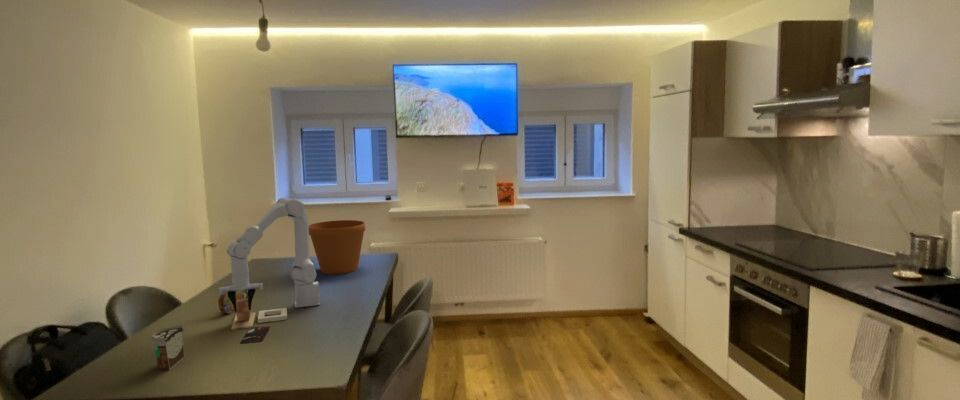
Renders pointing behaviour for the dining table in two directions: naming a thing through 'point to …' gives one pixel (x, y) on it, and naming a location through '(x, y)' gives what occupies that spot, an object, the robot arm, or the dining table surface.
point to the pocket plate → (272, 312)
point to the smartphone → (255, 335)
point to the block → (242, 309)
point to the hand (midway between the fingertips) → (243, 310)
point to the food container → (168, 346)
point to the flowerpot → (337, 245)
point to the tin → (226, 303)
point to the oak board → (244, 322)
